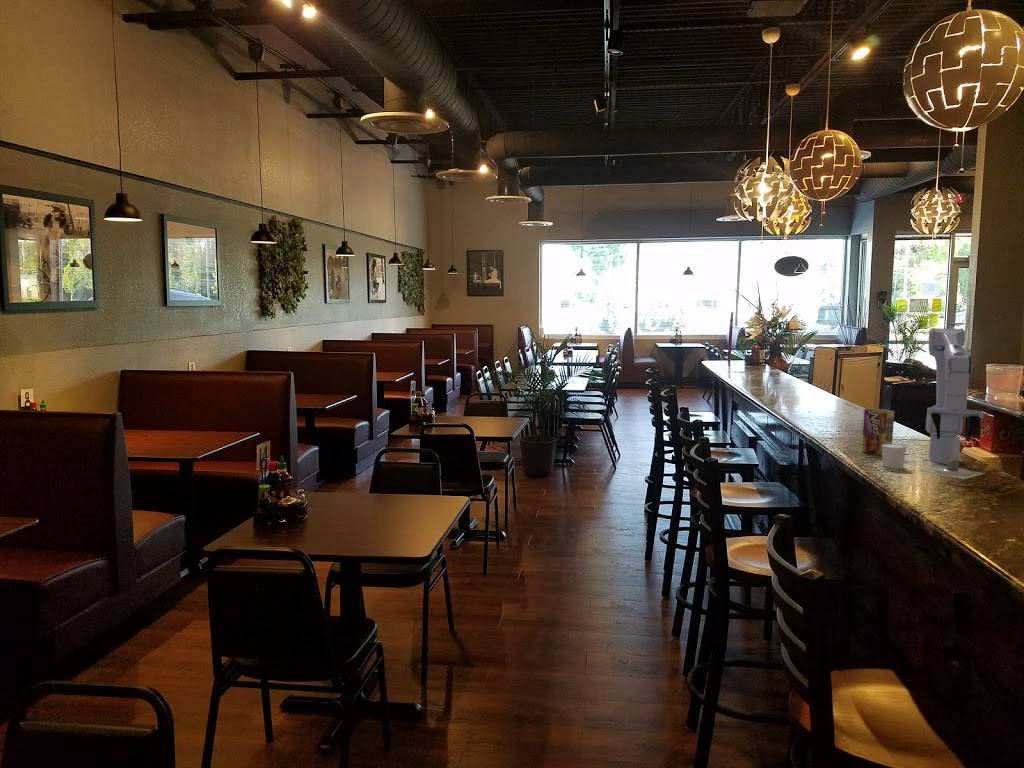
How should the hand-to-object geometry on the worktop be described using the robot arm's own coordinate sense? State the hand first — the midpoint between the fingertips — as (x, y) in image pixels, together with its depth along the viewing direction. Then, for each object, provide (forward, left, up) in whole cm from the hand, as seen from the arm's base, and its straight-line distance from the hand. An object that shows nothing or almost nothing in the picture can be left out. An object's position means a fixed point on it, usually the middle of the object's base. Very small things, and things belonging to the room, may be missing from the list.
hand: (952, 439), depth 224 cm
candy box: (-9, -29, -11) cm, 32 cm away
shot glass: (+8, -14, -11) cm, 19 cm away
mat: (0, 0, -10) cm, 10 cm away
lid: (0, 0, -10) cm, 10 cm away
